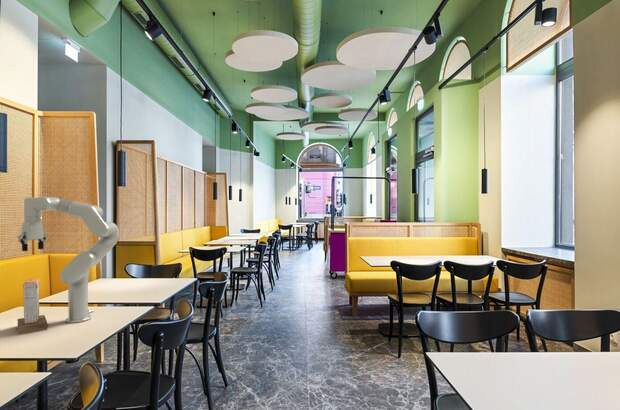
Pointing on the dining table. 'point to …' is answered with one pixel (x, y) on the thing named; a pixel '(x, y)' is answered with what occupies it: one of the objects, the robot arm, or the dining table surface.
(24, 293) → the cracker box
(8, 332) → the dining table surface
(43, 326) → the walnut block
